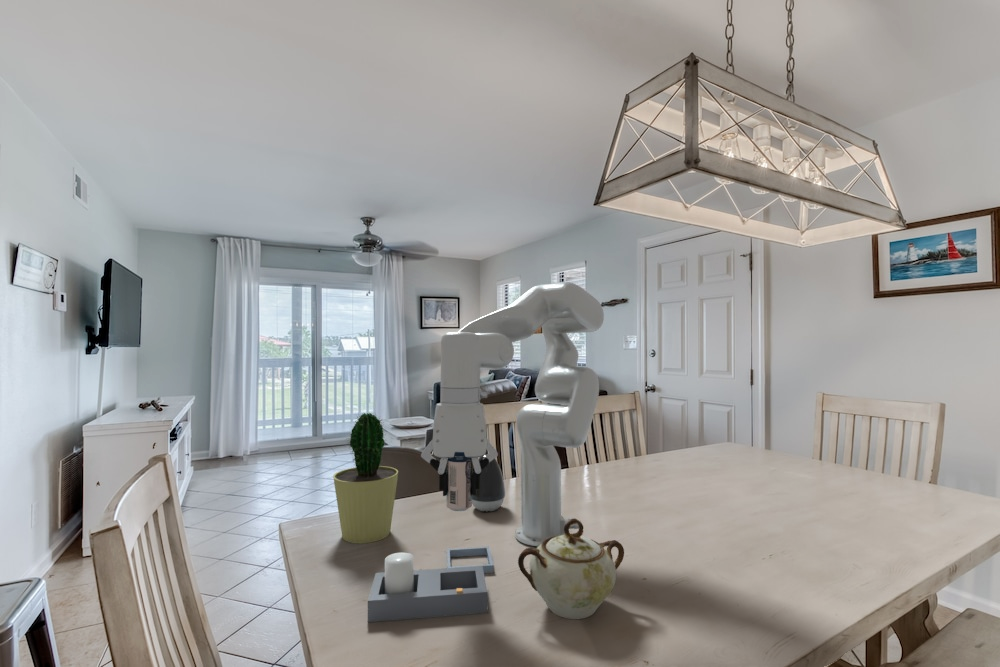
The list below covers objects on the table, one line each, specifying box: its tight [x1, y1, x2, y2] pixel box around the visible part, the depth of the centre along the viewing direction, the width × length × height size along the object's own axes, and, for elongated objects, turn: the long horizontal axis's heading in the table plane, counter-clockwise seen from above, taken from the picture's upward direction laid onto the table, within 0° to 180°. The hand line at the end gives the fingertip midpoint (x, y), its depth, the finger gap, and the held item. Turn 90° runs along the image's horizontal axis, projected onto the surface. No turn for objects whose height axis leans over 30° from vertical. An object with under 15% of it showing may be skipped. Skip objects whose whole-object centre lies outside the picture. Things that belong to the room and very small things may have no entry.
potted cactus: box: [332, 412, 399, 544], centre depth 118 cm, size 15×15×30 cm
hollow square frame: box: [446, 546, 494, 574], centre depth 101 cm, size 9×9×2 cm
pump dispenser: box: [472, 453, 506, 513], centre depth 136 cm, size 10×10×15 cm
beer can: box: [446, 450, 473, 512], centre depth 91 cm, size 5×5×12 cm
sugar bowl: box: [517, 518, 625, 620], centre depth 85 cm, size 20×15×15 cm
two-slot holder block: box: [367, 552, 489, 623], centre depth 86 cm, size 20×10×8 cm, turn 97°
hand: (459, 492), depth 91 cm, fingers closed on beer can, 4 cm apart
